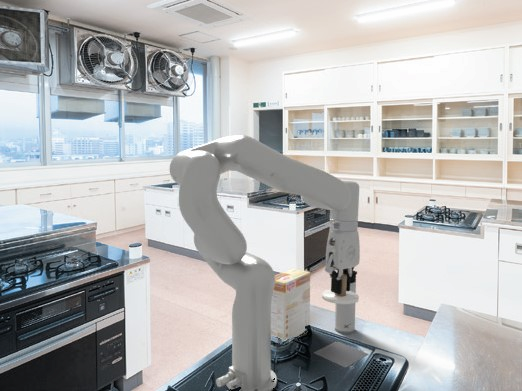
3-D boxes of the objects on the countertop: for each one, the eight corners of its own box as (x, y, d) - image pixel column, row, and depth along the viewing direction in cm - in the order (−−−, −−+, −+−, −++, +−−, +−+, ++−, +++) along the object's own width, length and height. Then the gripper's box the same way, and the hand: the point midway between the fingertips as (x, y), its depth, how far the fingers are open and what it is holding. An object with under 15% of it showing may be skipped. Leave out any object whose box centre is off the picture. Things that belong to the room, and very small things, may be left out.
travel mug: (350, 337, 125) (352, 274, 123) (331, 331, 129) (332, 270, 127) (358, 330, 130) (360, 270, 128) (340, 325, 134) (341, 266, 132)
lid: (344, 307, 105) (345, 282, 104) (314, 297, 112) (315, 274, 112) (365, 299, 112) (366, 276, 111) (336, 290, 119) (337, 268, 118)
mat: (345, 369, 106) (345, 367, 106) (313, 354, 114) (313, 352, 114) (368, 355, 113) (368, 354, 113) (336, 342, 121) (336, 340, 121)
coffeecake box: (292, 325, 134) (292, 267, 132) (310, 330, 130) (311, 271, 128) (264, 340, 122) (265, 278, 120) (284, 347, 118) (284, 282, 116)
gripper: (336, 230, 102) (333, 301, 103) (371, 225, 113) (368, 289, 114) (313, 226, 107) (310, 293, 109) (349, 222, 119) (346, 283, 120)
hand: (340, 290), depth 112 cm, fingers closed on lid, 3 cm apart
